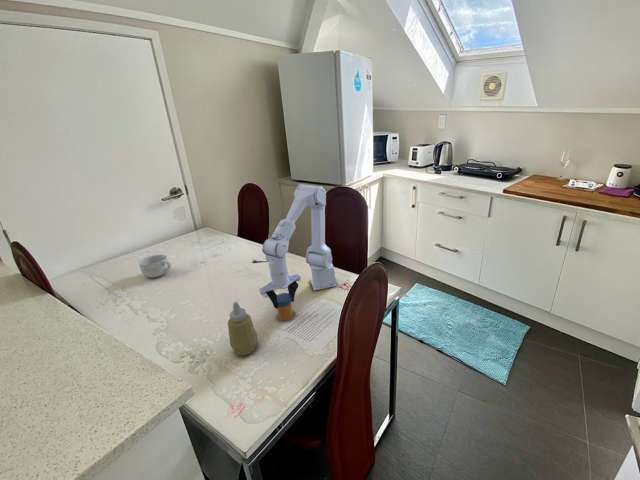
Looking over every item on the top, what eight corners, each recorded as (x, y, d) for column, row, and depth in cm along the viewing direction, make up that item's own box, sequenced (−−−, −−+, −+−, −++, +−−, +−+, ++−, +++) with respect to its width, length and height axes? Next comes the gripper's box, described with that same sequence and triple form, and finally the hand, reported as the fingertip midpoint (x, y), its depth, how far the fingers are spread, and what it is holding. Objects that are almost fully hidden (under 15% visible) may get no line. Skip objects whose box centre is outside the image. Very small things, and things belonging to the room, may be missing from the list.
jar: (291, 310, 118) (288, 293, 115) (294, 318, 114) (291, 301, 111) (277, 314, 116) (274, 297, 113) (280, 322, 112) (277, 304, 109)
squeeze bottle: (237, 341, 103) (226, 295, 96) (262, 339, 104) (252, 294, 97) (228, 359, 96) (216, 312, 89) (255, 357, 96) (245, 310, 89)
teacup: (138, 277, 141) (132, 262, 138) (161, 266, 150) (156, 251, 147) (159, 283, 136) (153, 267, 133) (181, 271, 145) (176, 256, 142)
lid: (276, 298, 114) (275, 293, 114) (292, 296, 115) (291, 292, 115) (274, 307, 109) (273, 303, 108) (291, 305, 110) (290, 301, 109)
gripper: (263, 283, 100) (269, 317, 105) (303, 268, 109) (307, 300, 114) (254, 275, 105) (260, 308, 110) (293, 261, 114) (297, 292, 119)
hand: (283, 303), depth 112 cm, fingers closed on lid, 6 cm apart
